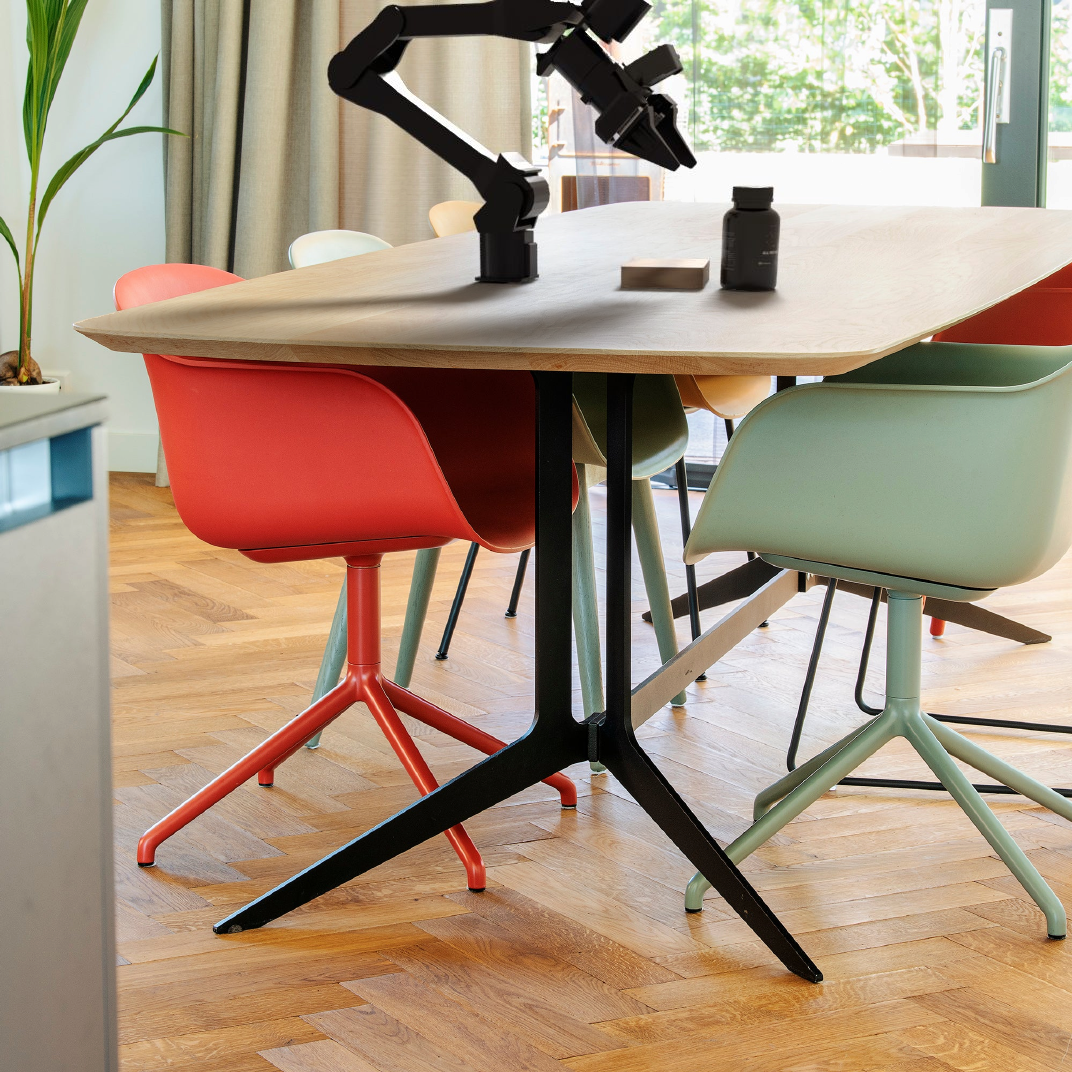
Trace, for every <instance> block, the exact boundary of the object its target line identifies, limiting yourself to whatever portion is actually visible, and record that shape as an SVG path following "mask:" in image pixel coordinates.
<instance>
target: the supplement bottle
mask: <svg viewBox="0 0 1072 1072" xmlns="http://www.w3.org/2000/svg"><path fill="white" fill-rule="evenodd" d="M774 189H775V188H774V186H772V185H771V186H769V185H735V186H732V195H731V200H730V202H732V203H733V207H731V208H730V209H728V210H727V211H726V212H725V213H724V215H723V218H722V226H721V227H722V229H721V231H722V233H721V248H720V249H721V250H720V251H721V254H720V273H719V274H720V278H719V284H720V286H721V288H722V289H724V290H729V291H740V292H764V291H773V290H775V288H776V287H777V284H778V283H777V282H778V270H779V269H778V268H779V251H780V250H779V249H780V236H781V235H780V234H781V216H780V214H779V213H778V212H777V211H776V210H775V209H773V208H772V203H774V202H775V201H774Z"/></svg>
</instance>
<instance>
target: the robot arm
mask: <svg viewBox="0 0 1072 1072" xmlns="http://www.w3.org/2000/svg"><path fill="white" fill-rule="evenodd" d="M653 7H654V3H653V1H651V0H582V1H580V2H578V1H573V0H567V1H562V0H488V1H485V2H471V3H470V2H469V3H447V4H446V3H445V4H443V3H442V4H425V5H424V4H423V5H400V4H399V5H398V4H393V3H392V4H388V5H386V6H385V7H384V8H382V10H380V11H379V13H378V14H377V15H376V17H375V18H374V19H373V21H372V22H371V23H369V24H368V25H367V26H366V27H365V28H364V29H362V30H361V31H360V32H359V33H358V34H357V35H356V36H354V37H353V38H352V39H351V40H350V41H349V43H348V44H347V45H346V47H345V48H344V49H343V50H340V51H338V52H337V53H335V54H334V55H333V56H332V58H331V59H330V60H329V62H328V66H327V72H326V77H327V81H328V83H327V84H328V86H329V88H330V89H331V91H332V92H333V93H334V94H335V95H336V96H338V97H340V98H342V99H344V100H346V101H347V102H351V103H352V104H355V105H357V106H359V107H360V108H364V109H366V110H368V111H371V112H374V113H376V114H379V115H381V116H384V117H386V118H387V119H388V120H389V121H391V122H392V123H393V124H395V125H396V126H397V127H399V128H400V129H401V130H403V131H404V132H406V133H407V134H408V135H409V136H411V137H412V138H414V139H415V140H416V141H418V143H420V144H421V145H423V146H424V147H425V148H427V149H428V150H430V152H432V153H434V154H435V155H437V157H439V158H440V159H442V160H443V161H444V162H446V163H447V164H448V165H450V166H451V167H452V168H453V169H455V170H456V171H458V172H460V173H461V174H462V175H463V176H465V178H467V179H468V180H469V181H470V182H471V183H472V185H473V186H474V188H475V189H476V190H477V193H478V194H479V195H480V197H481V199H482V200H483V201H484V203H483V205H481V207H480V208H479V210H477V211H476V213H475V214H474V215H473V217H472V220H473V223H474V226H475V228H476V232H477V233H478V234H479V237H478V238H479V276H474V281H475V282H491V283H492V282H494V283H495V282H496V283H500V282H501V283H519V284H520V283H524V282H527V281H531V280H535V279H539V278H540V273H539V272H538V271H539V269H538V268H539V267H538V243H537V242H536V241H535V240H534V239H535V237H534V236H535V234H534V233H535V230H534V229H535V228H536V224H537V222H538V219H539V216H540V215H541V214H542V213H544V212H545V210H546V209H547V208H548V205H549V203H550V197H551V191H550V186H549V183H548V181H547V179H545V177H544V176H543V175H541V174H540V173H541V172H543V169H542V168H540V167H536V166H534V165H532V164H530V162H528V160H526V159H525V158H524V156H522V155H521V154H520V153H519V152H517V151H510V152H509V151H507V152H500V153H499V155H496V154H494V153H492V152H491V151H490V150H489V149H487V148H486V147H484V146H483V145H482V144H481V143H479V142H478V141H476V140H475V139H473V137H471V136H470V135H469V134H467V133H465V132H464V131H463V130H461V129H460V128H459V127H457V126H456V125H454V124H453V123H452V122H451V121H449V120H448V119H446V117H444V115H443V116H442V115H441V114H440V113H438V112H437V111H436V110H434V109H433V108H432V107H431V106H429V105H428V104H426V103H425V102H424V101H422V100H421V99H419V98H418V97H417V96H416V95H414V94H413V93H412V92H410V91H409V90H408V89H407V87H406V85H405V84H404V83H403V81H402V79H401V78H400V76H399V74H398V73H397V72H396V71H395V70H396V68H397V67H398V65H400V63H401V61H402V58H403V57H404V54H405V52H406V50H407V48H408V46H409V44H411V42H412V40H413V39H429V38H431V39H432V38H461V37H462V38H465V37H489V36H490V37H491V36H492V37H500V38H505V39H511V40H518V41H523V42H524V41H525V42H530V43H535V44H541V45H542V44H543V45H549V44H551V45H550V47H549V49H548V50H547V51H546V52H537V53H536V54H535V58H536V67H535V68H536V69H535V74H536V76H538V77H543V78H549V77H550V76H551V75H553V72H554V71H557V73H559V75H561V77H562V78H564V79H565V81H566V82H568V83H569V85H570V86H572V87H573V89H574V90H575V91H576V92H578V94H579V95H580V96H581V97H580V98H579V100H580V101H581V102H582V103H583V104H584V105H586V106H591V107H592V108H593V110H595V111H596V112H597V113H598V114H599V116H598V117H597V118H596V119H595V121H594V134H595V136H597V137H598V138H599V139H600V140H601V142H603V143H604V144H605V145H611V146H612V148H613V149H616V150H620V151H622V152H625V153H628V154H630V155H631V156H635V157H637V158H640V159H642V160H644V161H646V162H649V163H652V164H654V165H657V166H658V167H662V168H663V169H666V170H668V171H671V172H673V173H674V172H676V171H678V169H680V167H681V166H684V167H685V168H688V169H689V170H691V169H694V168H695V166H696V165H697V163H698V161H697V159H696V157H695V155H694V154H693V152H692V151H691V149H690V147H689V146H688V144H687V143H686V141H685V139H684V137H683V136H682V133H681V132H680V130H679V128H678V126H677V121H678V120H677V118H678V113H679V109H678V107H677V106H678V103H677V102H676V101H675V100H674V99H673V98H672V97H671V96H670V95H669V93H654V92H655V90H654V89H653V88H652V87H653V86H656V85H657V84H659V83H661V82H663V81H664V80H666V79H668V78H670V77H671V76H677V75H678V74H680V73H682V72H683V71H684V66H683V65H682V62H681V56H680V54H679V53H678V52H677V51H676V49H675V47H674V45H673V44H670V43H664V44H662V45H659V44H658V45H656V46H657V47H655V48H654V49H651V50H649V51H648V52H647V53H646V54H643V55H642V56H640V57H638V58H637V59H634V60H633V61H632V62H630V63H629V64H628V63H627V62H624V61H623V62H620V61H618V60H616V58H614V57H613V55H612V54H610V52H608V51H607V49H606V48H605V47H604V46H603V45H602V44H601V43H600V42H598V41H597V40H596V38H595V37H594V36H593V35H592V34H591V33H590V32H592V33H593V34H594V35H595V36H596V37H597V38H598V39H600V40H601V41H602V42H604V44H605V45H606V44H607V45H608V46H610V45H611V44H612V42H613V41H615V42H617V43H619V44H623V43H624V41H625V40H626V39H627V38H628V36H630V34H631V33H632V32H633V30H634V29H635V28H636V27H637V26H638V25H639V23H640V22H641V21H642V20H643V19H644V18H645V17H646V15H647V14H648V13H649V12H650V10H651V9H652V8H653ZM569 30H571V31H570V32H569V34H567V35H564V34H565V32H566V31H569ZM588 30H590V32H589V31H588ZM616 134H617V135H619V136H618V138H617V139H616V138H615V135H616Z"/></svg>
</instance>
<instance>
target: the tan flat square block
mask: <svg viewBox="0 0 1072 1072" xmlns="http://www.w3.org/2000/svg"><path fill="white" fill-rule="evenodd" d="M710 262H711V259H706V258H705V259H704V258H702V259H701V258H697V259H696V258H695V259H693V258H637V257H636V258H635V257H633V258H630V259H629V260H628V261H626V262H625V263H624V264H622V265H620V288H641V289H642V288H644V289H646V288H648V289H649V288H653V289H655V288H657V289H695V290H696V289H697V290H698V289H699V290H700V289H704V288H705V286H706V285H707V283H708V282H709V280H710V269H711V268H710V265H711V263H710Z"/></svg>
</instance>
